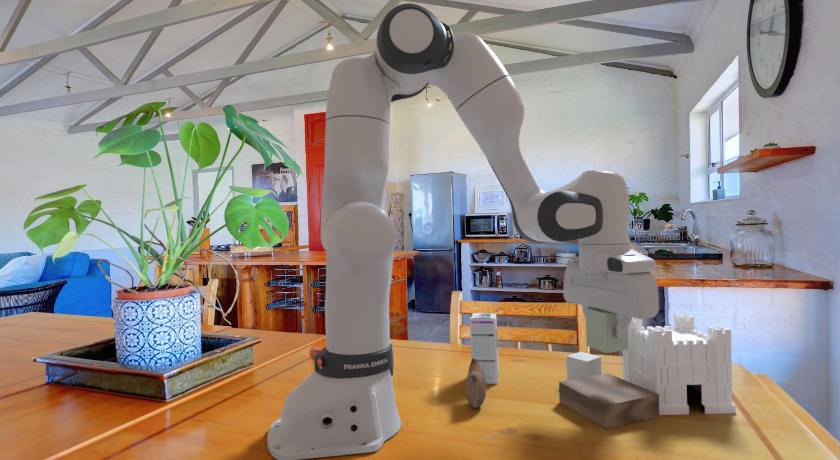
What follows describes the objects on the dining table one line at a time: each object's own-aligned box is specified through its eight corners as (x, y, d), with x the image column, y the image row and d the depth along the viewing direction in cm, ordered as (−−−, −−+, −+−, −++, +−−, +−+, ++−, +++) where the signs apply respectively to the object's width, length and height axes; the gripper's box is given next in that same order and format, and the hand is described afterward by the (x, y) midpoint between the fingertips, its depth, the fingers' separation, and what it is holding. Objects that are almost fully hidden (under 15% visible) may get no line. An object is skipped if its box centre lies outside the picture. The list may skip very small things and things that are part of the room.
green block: (606, 353, 77) (605, 313, 77) (586, 345, 82) (585, 308, 82) (628, 349, 79) (627, 311, 79) (607, 342, 84) (606, 306, 84)
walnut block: (605, 429, 73) (604, 405, 73) (559, 402, 84) (559, 381, 84) (659, 417, 77) (658, 394, 77) (608, 393, 88) (608, 373, 88)
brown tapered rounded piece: (465, 394, 90) (464, 355, 89) (484, 394, 89) (484, 355, 89) (465, 413, 81) (464, 370, 81) (487, 413, 80) (486, 370, 80)
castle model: (687, 384, 92) (686, 313, 92) (735, 413, 78) (734, 330, 78) (620, 385, 92) (619, 315, 92) (656, 415, 78) (654, 331, 78)
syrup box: (498, 384, 95) (496, 317, 94) (471, 383, 96) (469, 317, 96) (498, 375, 100) (497, 312, 100) (473, 374, 101) (471, 312, 101)
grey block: (587, 390, 90) (586, 361, 90) (567, 383, 94) (566, 355, 94) (601, 384, 93) (601, 356, 93) (581, 378, 97) (580, 351, 97)
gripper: (554, 256, 89) (556, 324, 89) (634, 264, 70) (637, 350, 70) (579, 255, 91) (581, 320, 91) (664, 261, 72) (666, 345, 72)
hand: (606, 333), depth 81 cm, fingers closed on green block, 5 cm apart
